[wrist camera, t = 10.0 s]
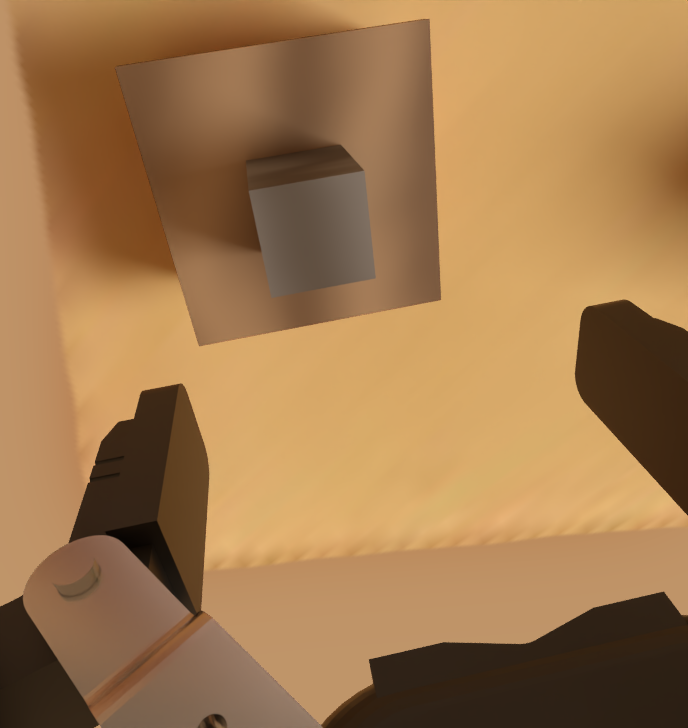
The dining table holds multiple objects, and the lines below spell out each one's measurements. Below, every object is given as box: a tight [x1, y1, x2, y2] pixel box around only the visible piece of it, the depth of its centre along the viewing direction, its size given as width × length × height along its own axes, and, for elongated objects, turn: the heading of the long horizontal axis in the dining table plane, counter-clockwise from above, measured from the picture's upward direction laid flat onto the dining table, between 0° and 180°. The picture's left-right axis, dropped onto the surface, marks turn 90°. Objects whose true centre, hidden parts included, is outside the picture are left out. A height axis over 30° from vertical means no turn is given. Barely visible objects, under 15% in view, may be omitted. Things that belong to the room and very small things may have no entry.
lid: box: [115, 19, 441, 346], centre depth 23 cm, size 12×12×6 cm
